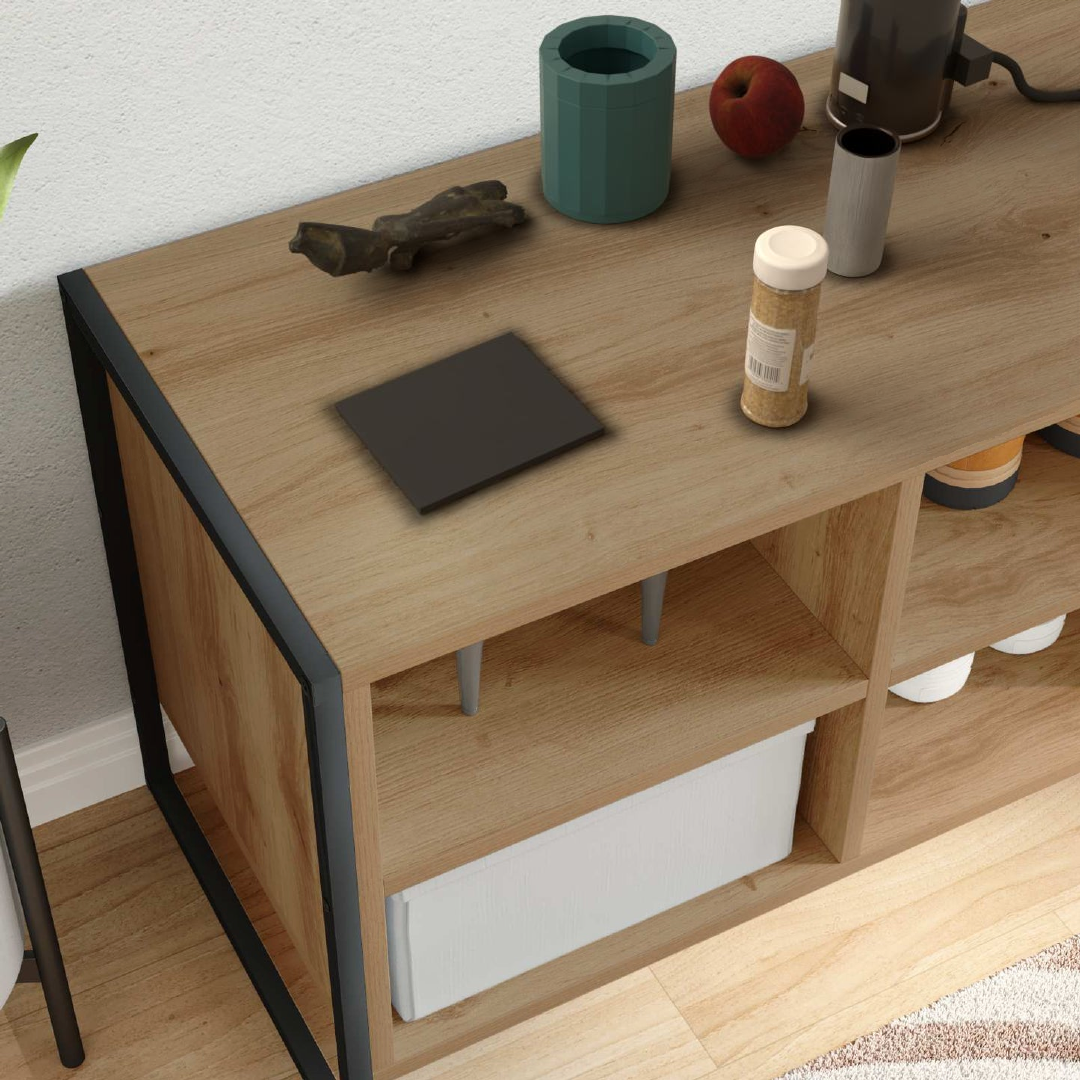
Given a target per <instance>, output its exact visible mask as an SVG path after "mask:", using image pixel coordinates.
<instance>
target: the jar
mask: <svg viewBox="0 0 1080 1080" xmlns="http://www.w3.org/2000/svg"><path fill="white" fill-rule="evenodd" d="M677 53H678V48H677V46H676V43H675V42H674V39H673V37H672V35H671V34H670V33H668V32H667V31H665V30H664V29H663V28H661V27H660V26H659V25H657V24H656V23H654V22H653V23H652V22H650V21H646V20H644V19H640V18H639V17H636V16H634V17H633V16H627V15H626V16H625V15H616V14H615V15H614V14H599V15H592V16H591V15H590V16H584V17H580V18H576V19H573V20H570V21H567V22H564V23H561V24H559V25H557V26H556V27H554V28H553V29H552V30H550V31H549V32H548V33H546V34H545V35H544V37H543V39H542V41H541V44H540V45H539V47H538V65H539V67H538V69H539V72H538V73H539V76H538V78H539V123H540V125H539V126H540V128H539V129H540V173H541V176H540V177H541V181H542V192H543V196H544V197H545V200H546V201H547V202H548V204H549V205H550V206H551V207H552V208H553V209H555V210H556V212H557V211H558V212H559V213H560V214H562V215H564V216H567V217H568V218H571V219H574V220H576V221H581V222H585V223H592V224H606V225H607V224H620V223H626V222H631V221H635V220H638V219H641V218H644V217H646V216H648V215H650V214H652V213H653V212H655V211H656V210H658V209H659V208H660V207H661V206H662V205H663V204H664V202H665V201H666V199H667V198H668V195H669V190H670V180H671V178H672V177H671V174H672V158H673V156H672V155H673V139H674V138H673V137H674V136H673V135H674V118H675V115H674V114H675V98H676V97H675V94H676V78H677V77H676V75H677V74H676V73H677V57H678V56H677V55H678V54H677Z"/></svg>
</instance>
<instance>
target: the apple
mask: <svg viewBox="0 0 1080 1080" xmlns="http://www.w3.org/2000/svg"><path fill="white" fill-rule="evenodd" d="M804 97H805V96H804V94H803V91H802V89H801V86H800V84H799V81H798V79H797V78H796V76H795V75H794V73H793V72H792V71H791V70H790V69H789V68H788V67H787V66H785V64H783V63H781V62H780V61H777V60H776V59H773V58H771V57H767V56H762V55H756V54H755V55H752V54H751V55H744V56H740V57H738V58H735V59H734V60H732V61H731V62H730V63H728V64H727V65H726V66H725V67H724V69H723V70H722V71H721V72H720V74H719V75H718V76H717V78H716V79H715V80H714V82H713V85H712V87H711V90H710V95H709V101H708V110H709V116H710V120H711V124H712V127H713V129H714V132H715V134H716V135H717V136H718V138H719V140H720V141H721V142H722V144H723V145H724V146H725V147H726V148H727V149H728V150H729V151H731V152H733V153H734V154H736V155H739V156H741V157H745V158H750V159H752V158H753V159H754V158H764V157H767V156H771V155H772V154H774V153H775V154H776V153H777V152H779V151H781V150H782V149H784V148H786V146H788V145H789V144H790V143H791V142H792V141H793V140H794V139H795V138H796V136H797V135H798V133H799V132H800V129H801V127H802V125H803V123H804V120H805V119H804V117H805V112H806V111H805V106H806V105H805V98H804Z"/></svg>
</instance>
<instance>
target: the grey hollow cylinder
mask: <svg viewBox="0 0 1080 1080" xmlns="http://www.w3.org/2000/svg"><path fill="white" fill-rule="evenodd" d="M838 131H839V132H837V134H836V137H835V141H834V147H833V149H834V151H833V155H832V164H831V169H830V170H831V171H830V178H829V186H828V193H827V201H826V208H825V215H824V222H823V228H822V229H823V230H822V231H823V232H822V235H821V236H822V237H823V238H824V239H825V241H826V242H827V245H828V248H829V255H828V264H827V271H830V272H831V273H833V274H836V275H837V276H838V275H839V276H841V277H842V276H843V277H849V278H860V277H864V276H865V277H866V276H869V275H871V274H873V273H874V272H876V271H877V270H878V269H879V267H880V265H881V263H882V260H883V253H884V247H885V242H886V235H887V230H888V224H889V219H890V213H891V207H892V202H893V195H894V189H895V183H896V177H897V172H898V167H899V166H898V165H899V160H900V154H901V148H902V143H901V140H900V137H899V136H898V135H897V133H896V132H894V131H893V130H891V129H890V128H888V127H885V126H883V125H879V124H874V123H856V124H852V125H849V126H846V127H844V128H843V129H841V130H838Z"/></svg>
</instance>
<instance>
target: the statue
mask: <svg viewBox="0 0 1080 1080" xmlns="http://www.w3.org/2000/svg"><path fill="white" fill-rule="evenodd" d="M508 194H509V193H508V188H507V185H505V184H504V183H502V181H500V180H498V179H489V180H481V181H478V182H474V183H471V184H467V185H464V186H460V185H455V186H452V187H451V186H450V187H449V188H447V189H446V190H443V191H441V192H439V193H437V194H435V195H434V196H433V197H432V198H431V199H430V200H428V201H426V202H424V203H423V204H420V205H419V206H417V207H416V208H412V209H410V211H409V212H404V213H397V214H394V213H393V214H386V215H381V216H378V217H377V218H375V220H374V221H373V224H372V227H371V230H370V229H367V228H363V227H362V228H361V227H354V226H349V225H344V224H336V223H335V224H334V223H326V222H315V221H300V222H299V223H298V227H297V231H296V234H295V236H294V237H292V238H291V239H290V240H289V241H288V242H287V243H288V250H289V251H290V253H291V254H302V255H304V256H305V257H306V258H307V259H308V261H309V262H310V263H311V264H312V265H313V266H314V267H315V268H316V269H318V270H319V271H321V272H324V273H327V274H328V275H329V276H331V277H332V278H340V277H345V276H349V275H354V274H358V273H361V272H366V273H368V274H370V273H372V272H373V270H378V269H379V268H381V267H384V266H385V265H386V264H387V263H389V268H390V269H392V270H393V271H405V270H408V269H410V268H411V267H412V264H413V260H414V259H413V258H414V256H415V255H416V254H417V253H418V252H419V250H420V248H421V247H422V245H425V244H426V243H427V244H428V243H430V242H431V243H432V242H436V241H448V240H452V239H454V238H456V237H458V236H460V235H461V234H462V233H465V232H472V231H474V230H476V229H478V228H485V227H490V226H494V227H495V226H496V227H499V226H500V227H501V226H502V227H506V228H512V227H513V225H519V224H520V225H521V224H523V223H524V222H525V221H526V218H527V216H526V212H525V211H526V208H523V206H522V205H520V204H515V203H513V202H511V201H506V199H507V198H508ZM394 247H396V248H395V249H394V250H393V251H392V252H391V253H390V255H389V252H390V250H391V249H392V248H394Z"/></svg>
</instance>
